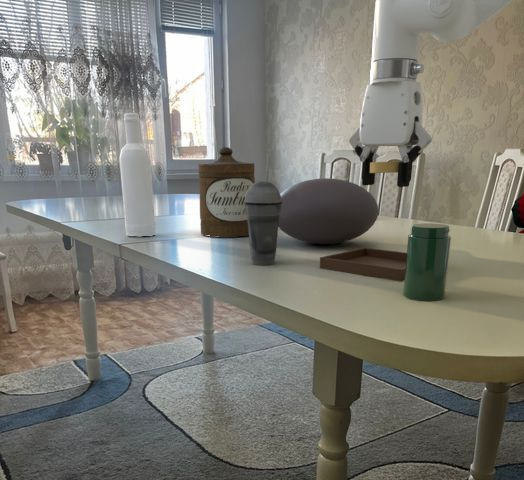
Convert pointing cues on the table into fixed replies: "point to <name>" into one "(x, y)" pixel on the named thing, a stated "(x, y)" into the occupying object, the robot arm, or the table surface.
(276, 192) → the beverage cup
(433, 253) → the jar
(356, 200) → the smooth stone
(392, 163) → the lid
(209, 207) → the wooden container
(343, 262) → the tray
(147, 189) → the bottle
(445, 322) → the table surface
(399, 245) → the table surface
